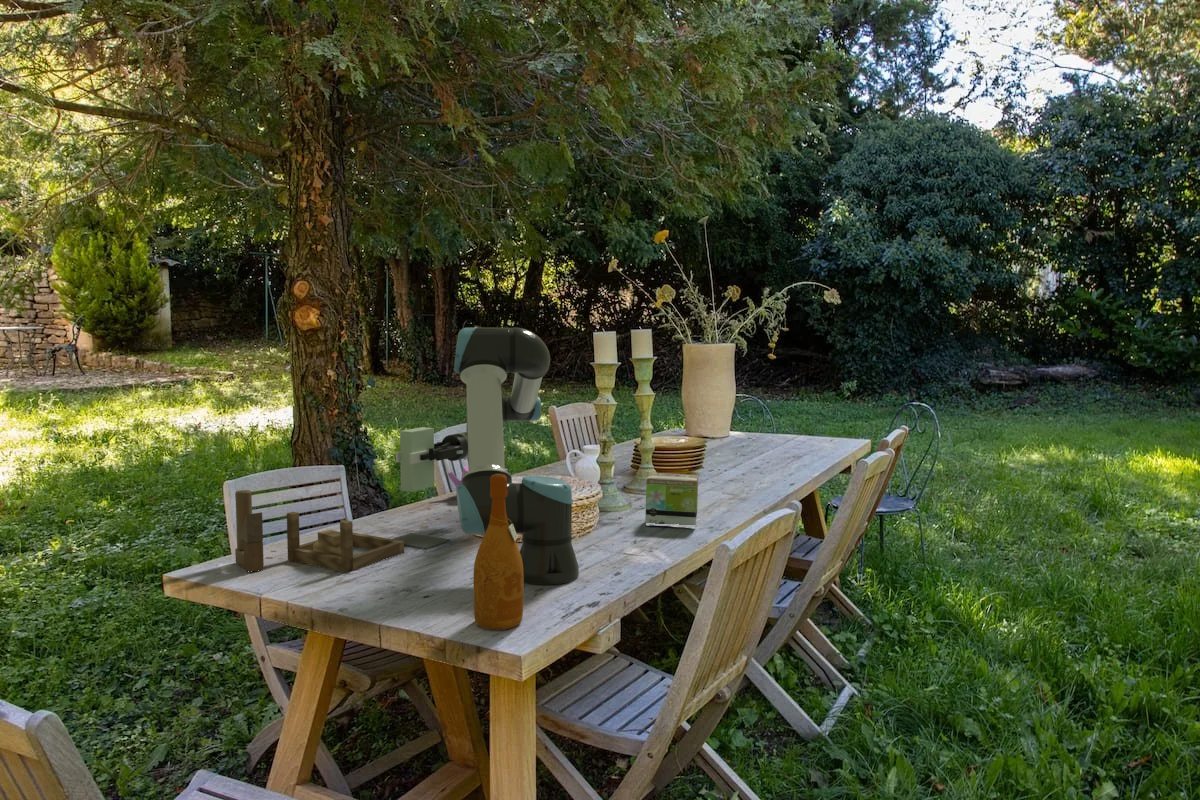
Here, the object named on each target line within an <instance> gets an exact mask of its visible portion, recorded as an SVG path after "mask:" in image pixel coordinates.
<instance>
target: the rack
mask: <svg viewBox="0 0 1200 800" xmlns="http://www.w3.org/2000/svg"><path fill="white" fill-rule="evenodd" d="M353 529H354V527H353V520H343V521H340V522H339V532H340V549H341V556H336V555H331V554H326V553H321V552H316V551H313V544H314V543H317V542H318V539H315V540H312V541H310V542H307V543H303V544H300V543H301V542H300V540H301V539H300V513H299V512H297V511H289V512H287V513H286V531H287V532H286V533H287V534H286V535H287V539H286V540H287V542H286V543H287V544H286V545H287V561H288V560H290V561H289V562H292V561H296V562H295V563H299V562H302V563H301V564H303V563H306V564H305V565H308V564H311V565H310V566H313V565H316V566H315V567H318V566H320V567H319V568H323V567H324V568H323V569H328V568H329V569H328V570H332V569H334V571H337V570H338V572H340V573H345V572H346V573H345V574H348V573H351V572H353V571H357V570H359V569H361V568H365V567H368V566H371V565H373V564H372V563H374V564H376V563H379V562H382V561H384V560H383V559H385V560H387V559H386V558H388V559H390V558H389V557H391V558H393V557H396V556H399V555H401V553H402V554H405V546H404V541H399V540H393V538H388V537H387V538H386V537H381V536H374V535H370V534H369V535H368V534H364V533H358V532H354V531H353ZM358 546H359V547H358ZM354 547H358V548H363V547H365V549H368V550H367V551H364V552H360V553H357V554H355V555H354ZM369 548H371V549H369ZM398 554H399V555H398ZM395 555H396V556H395ZM392 556H393V557H392ZM381 560H382V561H381ZM378 561H379V562H378ZM375 562H376V563H375ZM370 564H371V565H370ZM367 565H368V566H367ZM356 569H357V570H356Z"/></svg>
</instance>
